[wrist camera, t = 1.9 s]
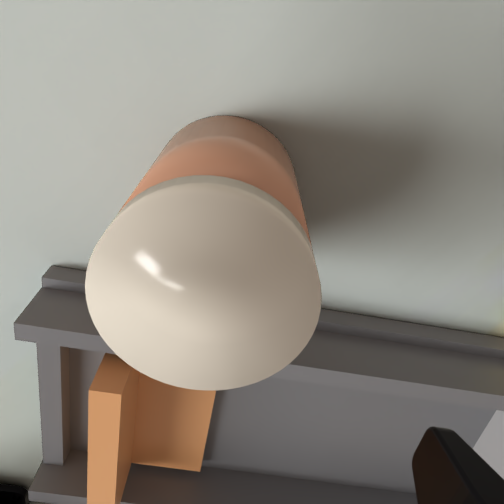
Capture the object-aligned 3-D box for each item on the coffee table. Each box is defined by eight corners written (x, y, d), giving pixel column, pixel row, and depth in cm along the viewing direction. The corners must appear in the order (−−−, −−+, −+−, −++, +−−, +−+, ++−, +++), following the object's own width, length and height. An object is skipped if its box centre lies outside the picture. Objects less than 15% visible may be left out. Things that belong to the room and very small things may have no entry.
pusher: (201, 462, 24) (191, 536, 21) (111, 450, 24) (86, 524, 20) (225, 341, 20) (218, 408, 17) (117, 325, 20) (88, 390, 16)
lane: (459, 498, 27) (504, 604, 22) (57, 446, 25) (9, 549, 20) (558, 346, 21) (647, 443, 17) (51, 265, 20) (-17, 347, 15)
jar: (279, 258, 19) (292, 403, 12) (150, 236, 19) (84, 374, 12) (310, 130, 17) (350, 218, 10) (161, 102, 16) (85, 171, 9)
